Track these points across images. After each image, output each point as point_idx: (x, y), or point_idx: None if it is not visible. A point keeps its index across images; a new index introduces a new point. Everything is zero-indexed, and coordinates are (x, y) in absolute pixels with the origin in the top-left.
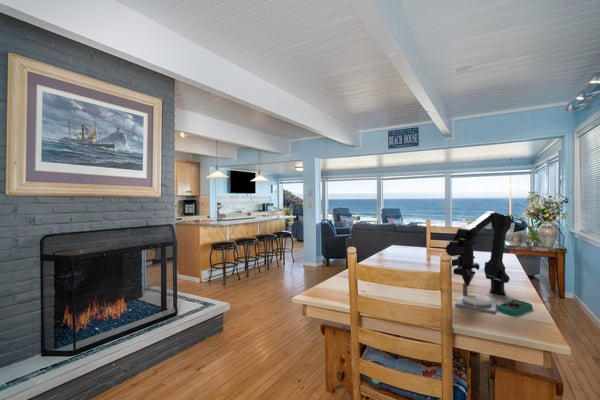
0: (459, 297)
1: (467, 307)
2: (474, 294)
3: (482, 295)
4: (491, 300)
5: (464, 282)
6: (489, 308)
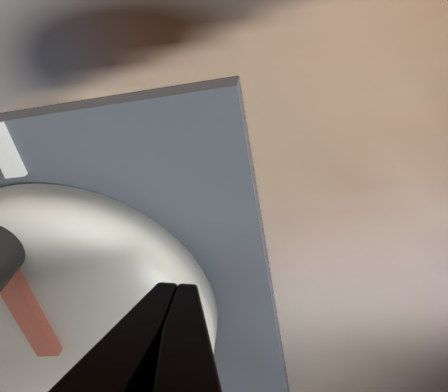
0: (74, 122)
1: None
2: None
3: None
4: (255, 384)
5: (98, 347)
6: None
